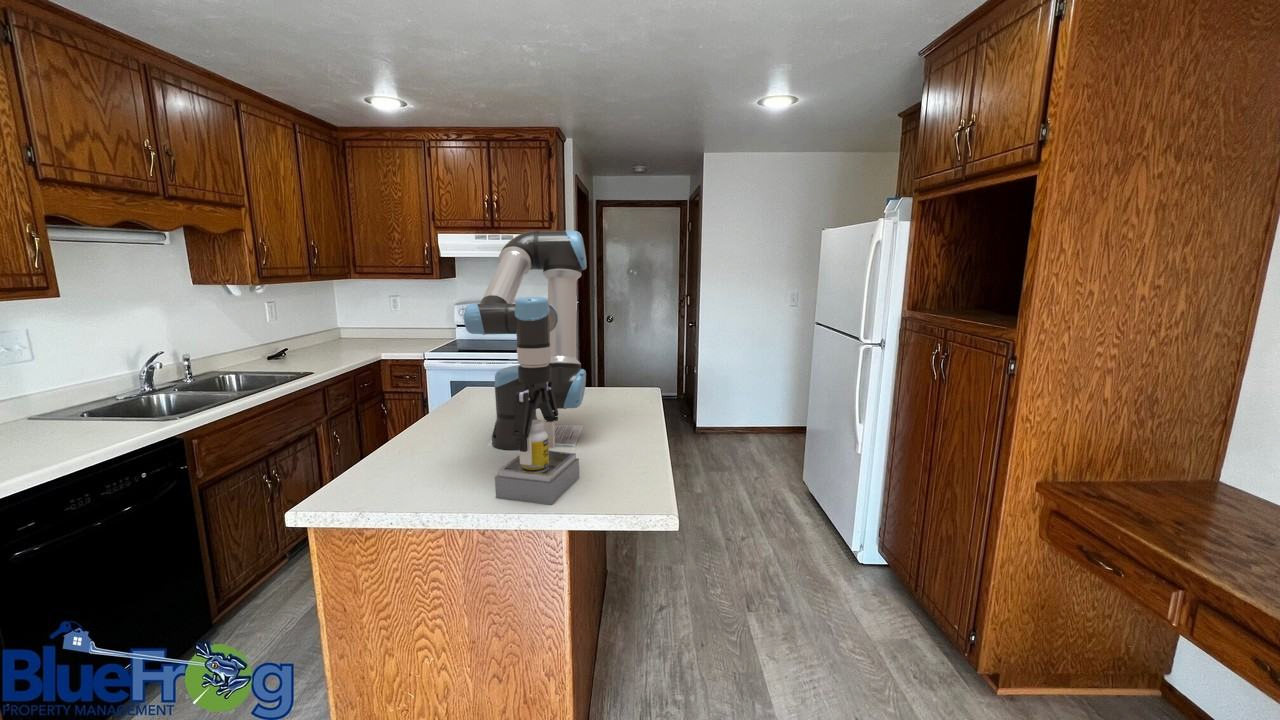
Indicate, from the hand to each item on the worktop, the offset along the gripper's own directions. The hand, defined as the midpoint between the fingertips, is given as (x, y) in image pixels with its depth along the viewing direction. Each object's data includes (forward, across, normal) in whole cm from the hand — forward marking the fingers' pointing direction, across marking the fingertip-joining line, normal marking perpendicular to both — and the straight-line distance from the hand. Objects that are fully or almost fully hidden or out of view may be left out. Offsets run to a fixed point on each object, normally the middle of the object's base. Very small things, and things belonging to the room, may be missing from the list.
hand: (538, 455), depth 124 cm
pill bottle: (+3, +2, 0) cm, 4 cm away
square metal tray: (+8, 0, -1) cm, 8 cm away
